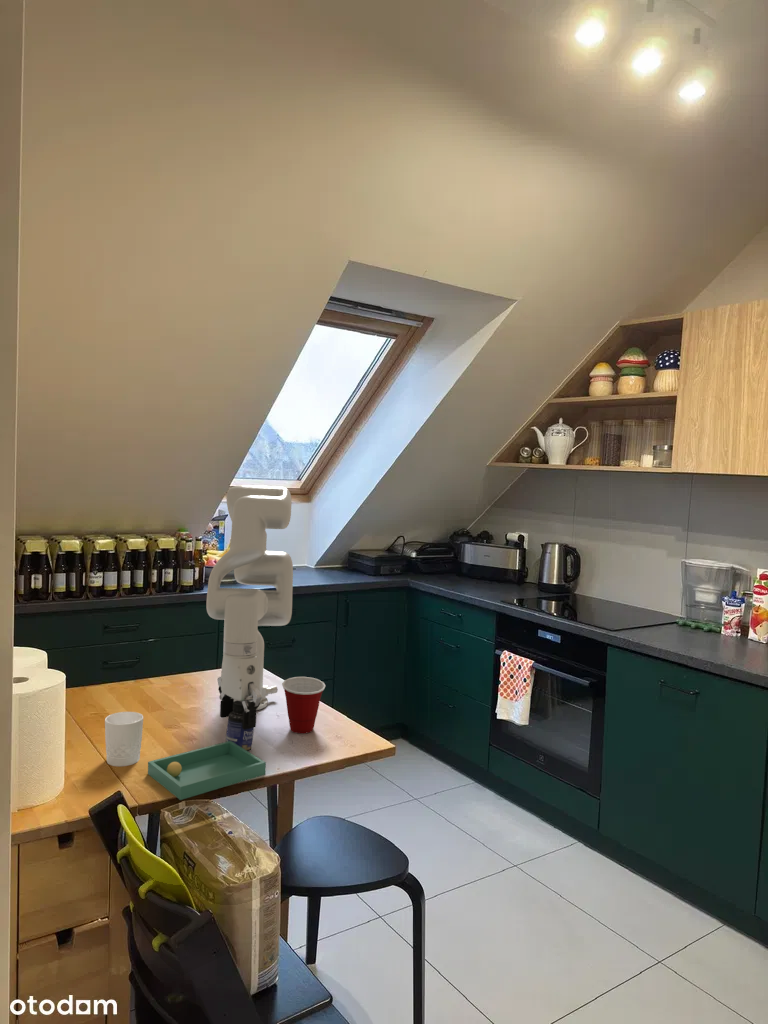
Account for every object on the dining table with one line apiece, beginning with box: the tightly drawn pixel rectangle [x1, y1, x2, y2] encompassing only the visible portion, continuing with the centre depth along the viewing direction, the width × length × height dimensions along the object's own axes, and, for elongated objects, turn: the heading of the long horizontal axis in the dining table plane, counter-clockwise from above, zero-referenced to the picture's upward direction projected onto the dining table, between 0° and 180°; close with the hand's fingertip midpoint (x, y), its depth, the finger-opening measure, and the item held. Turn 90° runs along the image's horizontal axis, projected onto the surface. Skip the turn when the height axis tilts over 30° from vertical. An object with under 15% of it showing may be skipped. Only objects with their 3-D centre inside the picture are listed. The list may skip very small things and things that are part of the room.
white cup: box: [104, 711, 144, 767], centre depth 159 cm, size 8×8×10 cm
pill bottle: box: [225, 701, 255, 752], centre depth 169 cm, size 6×6×11 cm
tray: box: [147, 741, 267, 801], centre depth 154 cm, size 20×15×3 cm
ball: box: [167, 762, 182, 777], centre depth 152 cm, size 3×3×3 cm
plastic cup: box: [281, 676, 326, 735], centre depth 183 cm, size 11×11×12 cm
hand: (237, 722), depth 167 cm, fingers open, 9 cm apart
